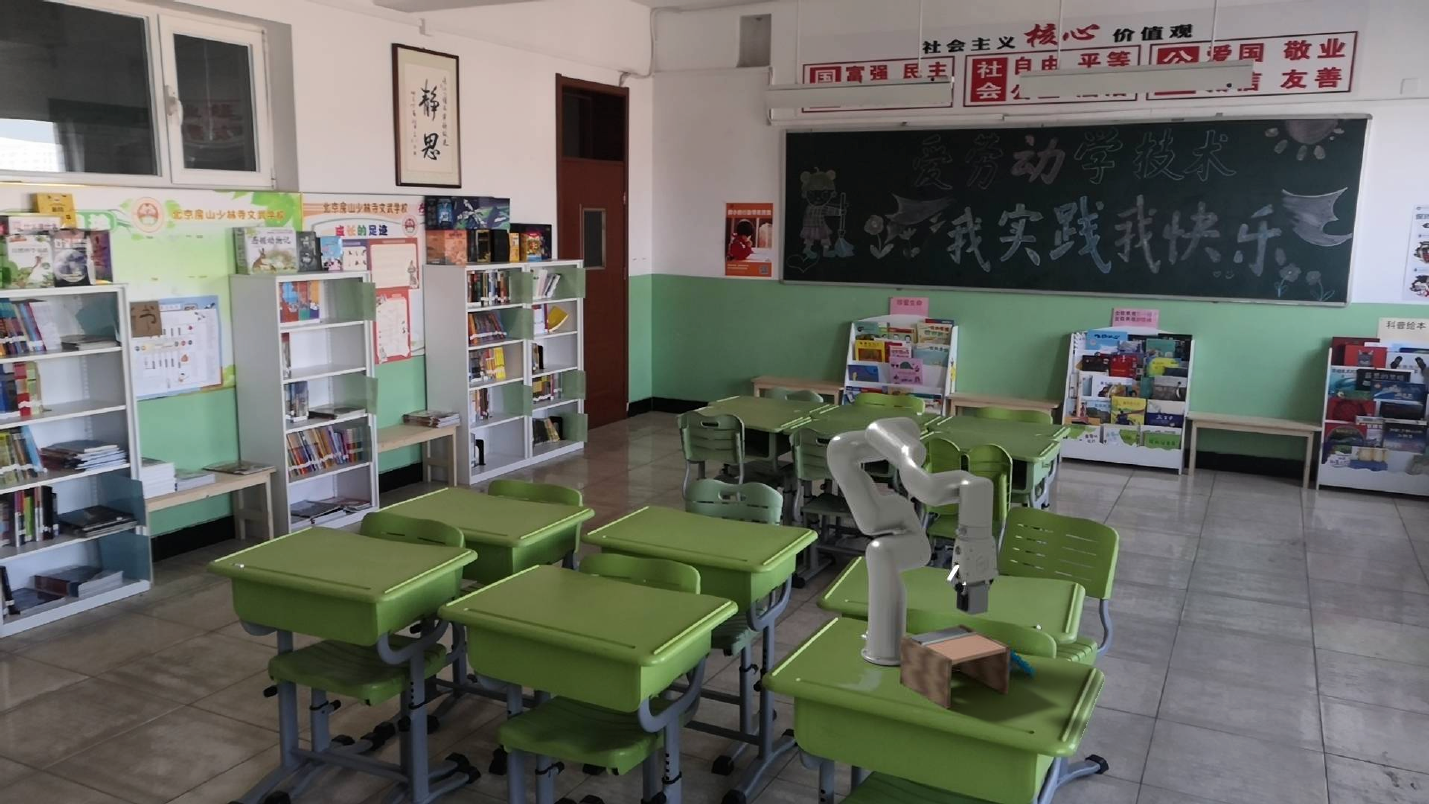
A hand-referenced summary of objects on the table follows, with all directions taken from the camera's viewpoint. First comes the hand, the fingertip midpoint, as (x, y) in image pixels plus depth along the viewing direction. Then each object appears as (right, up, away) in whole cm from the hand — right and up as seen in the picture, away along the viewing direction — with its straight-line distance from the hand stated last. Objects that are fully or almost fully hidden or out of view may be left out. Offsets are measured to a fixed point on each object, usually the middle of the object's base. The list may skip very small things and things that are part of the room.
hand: (971, 607), depth 243 cm
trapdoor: (-2, -13, +6) cm, 14 cm away
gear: (+15, -20, +16) cm, 30 cm away
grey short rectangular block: (0, +2, 0) cm, 2 cm away
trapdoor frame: (-2, -21, +7) cm, 22 cm away
